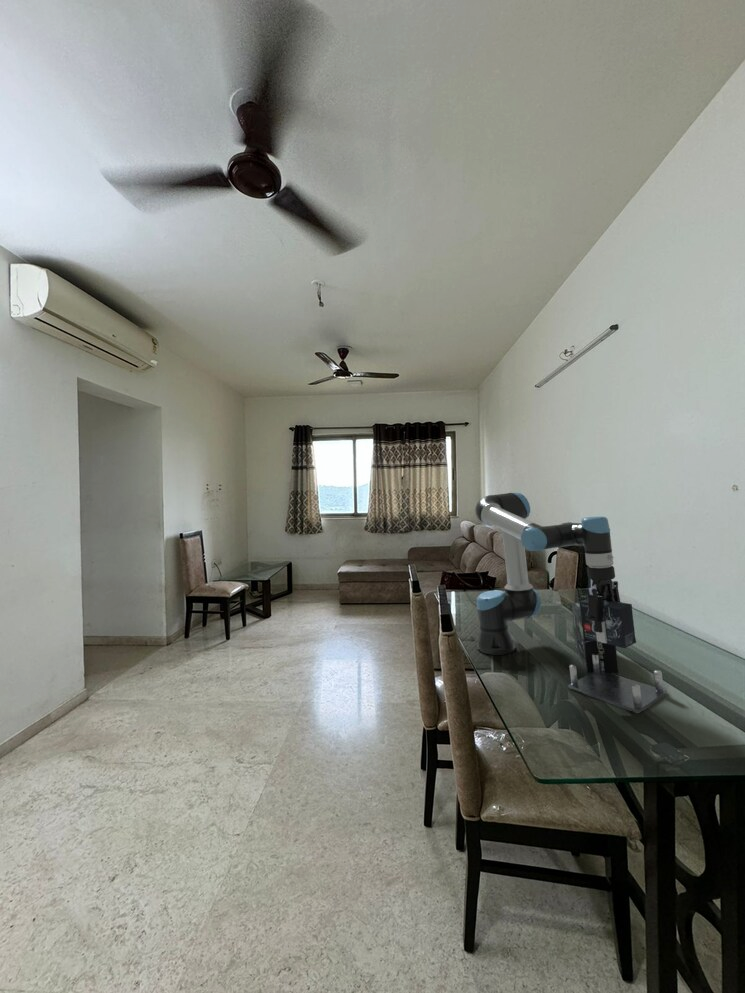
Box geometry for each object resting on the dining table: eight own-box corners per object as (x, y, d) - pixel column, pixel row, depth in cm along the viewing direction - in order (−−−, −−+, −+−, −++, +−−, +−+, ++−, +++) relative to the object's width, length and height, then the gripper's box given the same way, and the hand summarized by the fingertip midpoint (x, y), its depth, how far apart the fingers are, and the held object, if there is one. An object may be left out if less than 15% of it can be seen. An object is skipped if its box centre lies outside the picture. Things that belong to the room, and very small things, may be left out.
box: (620, 675, 135) (613, 619, 135) (587, 674, 138) (581, 619, 138) (603, 649, 157) (598, 601, 157) (575, 649, 160) (570, 602, 160)
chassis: (568, 688, 129) (566, 666, 129) (597, 672, 138) (595, 652, 138) (638, 714, 111) (635, 689, 111) (667, 693, 120) (664, 670, 120)
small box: (582, 638, 129) (578, 601, 129) (594, 633, 132) (590, 597, 132) (624, 649, 117) (620, 608, 118) (637, 643, 121) (632, 603, 121)
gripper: (593, 572, 117) (603, 650, 116) (629, 561, 127) (637, 633, 127) (570, 570, 123) (578, 644, 123) (605, 560, 134) (613, 628, 133)
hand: (608, 638), depth 125 cm, fingers closed on small box, 7 cm apart
